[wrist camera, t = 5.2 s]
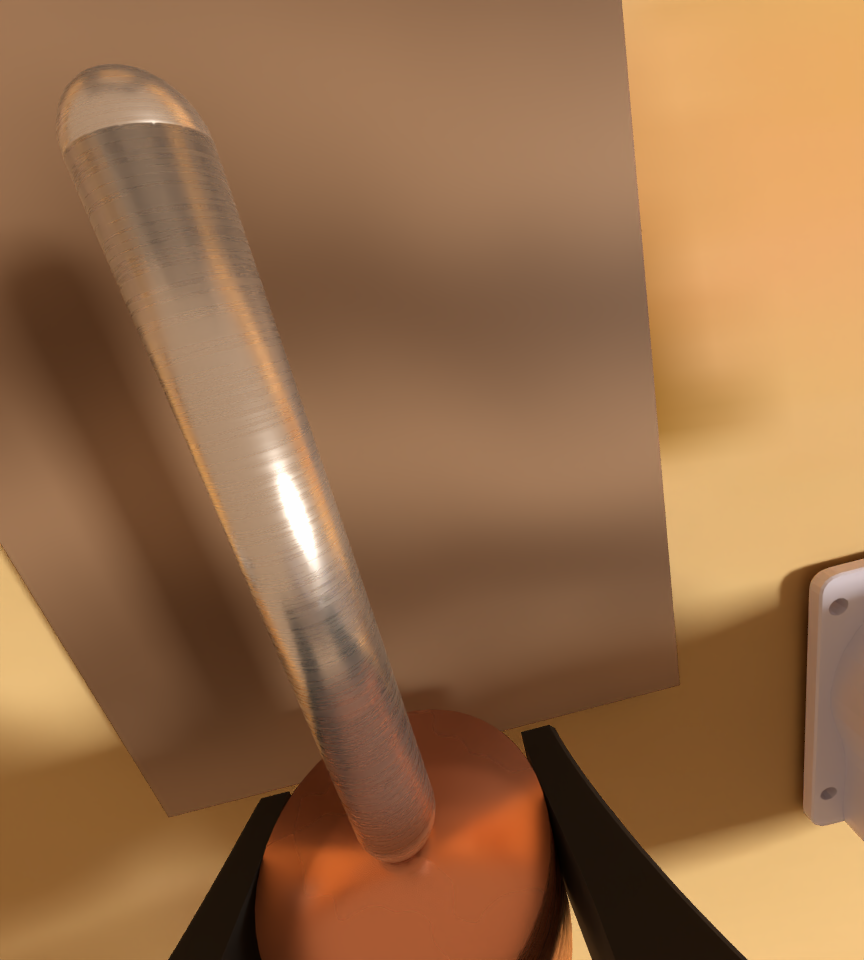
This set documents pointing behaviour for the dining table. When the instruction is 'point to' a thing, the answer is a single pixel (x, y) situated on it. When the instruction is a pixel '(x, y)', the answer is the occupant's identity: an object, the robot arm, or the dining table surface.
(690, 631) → the dining table surface
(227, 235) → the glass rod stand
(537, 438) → the board
